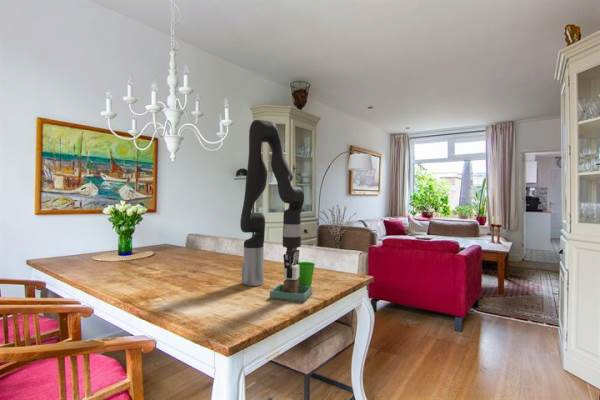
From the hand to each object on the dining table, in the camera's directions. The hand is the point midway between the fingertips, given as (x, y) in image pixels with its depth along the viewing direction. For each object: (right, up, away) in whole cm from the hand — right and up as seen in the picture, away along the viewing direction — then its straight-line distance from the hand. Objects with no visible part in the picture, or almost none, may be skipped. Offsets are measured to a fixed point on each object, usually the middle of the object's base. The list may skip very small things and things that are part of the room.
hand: (291, 276), depth 131 cm
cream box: (0, -1, 0) cm, 1 cm away
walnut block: (0, -8, 0) cm, 8 cm away
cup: (+6, -8, +12) cm, 16 cm away
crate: (0, -8, 0) cm, 8 cm away
